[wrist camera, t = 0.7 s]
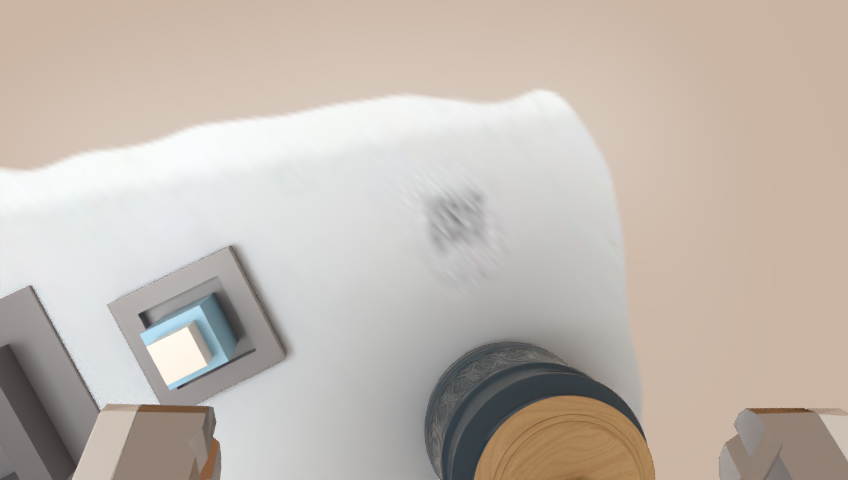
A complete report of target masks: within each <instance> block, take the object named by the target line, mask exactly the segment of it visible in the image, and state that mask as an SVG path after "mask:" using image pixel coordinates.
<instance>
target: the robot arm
mask: <svg viewBox="0 0 848 480" xmlns="http://www.w3.org/2000/svg"><path fill="white" fill-rule="evenodd" d="M215 425H216V419H215V414H214V409H213V407H210V406H179V405H146V404H142V405H134V404H107V405H106V406H105V407H104V408H103V410H102V411H101V412H100V413H99V415H98V418H97V420H96V423H95V425H94V427H93V430H92V432H91V435H90V437H89V439H88V442H87V444H86V447H85V449H84V452H83V454H82V456H81V459H80V461H79V464H78V466H77V468H76V471H75V473H74V476H73V478H72V480H220V474H221V451H220V444H219V442H218V441H217V440H216V439H215V438H214V437H213V434H214V430H215ZM734 426H735V428H736V430H737V432H738V435H736V436H735V437H733V438H732V439H730V440H729V441H727V442H726V443H725V444H724V447H723V449H722V452H721V454H720V457H719V477H720V480H848V414H847V413H846V412H845V411H843V410H841V409H805V408H751V409H750V408H746V409H745V410H743V411H742V412H741V413H739V415H738V417H737V419H736V421H735V423H734Z"/></svg>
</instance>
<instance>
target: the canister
mask: <svg viewBox="0 0 848 480" xmlns="http://www.w3.org/2000/svg"><path fill="white" fill-rule="evenodd" d="M425 443H426V448H427V452H428V456H429V459H430V461H431V464H432V466H433V468H434V470H435V472H436V474H437V476H438V478H439V479H440V480H655V470H654V465H653V461H652V457H651V454H650V451H649V448H648V446H647V442H646V438H645V435H644V432H643V430H642V428H641V425H640V423H639V421H638V420H637V418H636V416H635V415H634V413H633V411H632V410H631V409H630V408H629V406H628V405H627V404H626V403H625V402H624V401H623V399H621V398H620V397H619V396H618V395H617V394H616V393H615V392H613V391H612V390H611V389H609V388H608V387H606V386H605V385H603V384H601V383H599V382H597V381H595V380H593V379H592V378H591V377H589V376H587V375H586V374H584V373H582V372H581V371H579V370H577V369H574V368H572V367H569V366H568V365H567V364H566V363H565V362H564V361H562V360H561V359H560V358H558V357H557V356H555V355H553V354H551V353H550V352H548V351H546V350H544V349H542V348H539V347H536V346H533V345H529V344H524V343H516V342H506V343H496V344H490V345H486V346H483V347H480V348H477V349H475V350H473V351H471V352H469V353H467V354H465V355H464V356H462V357H461V358H459V359H458V360H457V361H456V362H454V363H453V364H452V365H451V366H450V367H449V368H448V369H447V370H446V371H445V373H444V374H443V375H442V376H441V378H440V379H439V381H438V382H437V384H436V386H435V388H434V390H433V392H432V394H431V397H430V400H429V403H428V407H427V412H426V418H425Z"/></svg>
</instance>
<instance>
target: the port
mask: <svg viewBox="0 0 848 480" xmlns="http://www.w3.org/2000/svg"><path fill="white" fill-rule="evenodd" d="M99 413H100V411H99V409H98V407H97V406H96V404H95V402H94V400H93V398H92V396H91V395H90V393H89V391H88V389H87V387H86V386H85V384H84V382H83V380H82V378H81V376H80V375H79V373H78V371H77V369H76V367H75V366H74V364H73V362H72V360H71V358H70V356H69V355H68V353H67V351H66V349H65V347H64V346H63V344H62V342H61V340H60V338H59V336H58V335H57V333H56V331H55V329H54V327H53V325H52V324H51V322H50V320H49V318H48V316H47V315H46V313H45V311H44V309H43V307H42V305H41V304H40V302H39V300H38V298H37V296H36V295H35V293H34V291H33V289H32V287H31V286H28V287H26V288H24V289H21V290H19V291H17V292H15V293H13V294H11V295H9V296H6V297H4V298H2V299H0V480H72V478H73V476H74V473H75V471H76V468H77V466H78V464H79V461H80V459H81V456H82V454H83V452H84V449H85V447H86V444H87V442H88V439H89V437H90V435H91V432H92V430H93V427H94V425H95V423H96V420H97V418H98V415H99Z"/></svg>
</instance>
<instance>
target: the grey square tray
mask: <svg viewBox="0 0 848 480" xmlns="http://www.w3.org/2000/svg"><path fill="white" fill-rule="evenodd" d="M213 292H214V293H215V295H216V297H217V299H218V301H219V303H220V305H221V307H222V309H223V311H224V313H225V315H226V317H227V318H228V320H229V322H230V324H231V326H232V328H233V330H234V332H235V334H236V336H237V338H238V340H239V342H238V344H237V346H236V348H235V350H234V352H233V353H232V355H231V357H230V359H229V361H228V362H226V363H224V364H222V365H220V366H218V367H216V368H214V369H212V370H210V371H208V372H206V373H204V374H202V375H200V376H198V377H196V378H194V379H192V380H190V381H188V382H186V383H184V384H182V385H180V386H178V387H176V388H174V389H172V390H169V388H168V386H167V385H166V383H165V381H164V379H163V378H162V376H161V374H160V372H159V370H158V368H157V366H156V365H155V363H154V361H153V359H152V357H151V355H150V353H149V351H148V350H147V348H146V345H145V343H144V342H143V340H142V338H141V336H140V334H141V333H142V332H143V331H144V330H146V329H147V328H148V327H150V326H151V325H152V324H154V323H155V322H156V321H158V320H159V319H160V318H162V317H163V316H166V315H168V314H170V313H172V312H174V311H176V310H178V309H180V308H182V307H184V306H186V305H188V304H190V303H192V302H194V301H196V300H198V299H201V298H203V297H205V296H207V295H209V294H211V293H213ZM107 306H108V308H109V310H110V311H111V313H112V315H113V317H114V319H115V321H116V323H117V324H118V326H119V328H120V330H121V332H122V334H123V336H124V337H125V339H126V341H127V343H128V345H129V347H130V349H131V350H132V352H133V354H134V356H135V358H136V360H137V362H138V363H139V365H140V367H141V369H142V371H143V373H144V375H145V376H146V378H147V380H148V382H149V384H150V386H151V388H152V390H153V391H154V393H155V395H156V397H157V399H158V401H159V403H160V404H161V405H179V406H194V405H196V404H198V403H200V402H202V401H204V400H206V399H208V398H210V397H212V396H213V395H215V394H217V393H219V392H221V391H223V390H225V389H227V388H229V387H231V386H233V385H235V384H237V383H239V382H241V381H243V380H245V379H247V378H249V377H251V376H253V375H255V374H257V373H259V372H261V371H263V370H265V369H267V368H269V367H271V366H273V365H275V364H277V363H279V362H281V361H283V360H285V357H286V353H285V351H284V349H283V347H282V345H281V343H280V341H279V339H278V337H277V335H276V333H275V331H274V329H273V327H272V325H271V324H270V322H269V320H268V318H267V316H266V314H265V312H264V310H263V308H262V306H261V304H260V302H259V300H258V298H257V296H256V294H255V292H254V290H253V288H252V286H251V284H250V282H249V281H248V279H247V277H246V275H245V273H244V271H243V269H242V267H241V265H240V263H239V261H238V259H237V257H236V255H235V253H234V251H233V249H232V247H231V246H228V247H226V248H224V249H222V250H220V251H218V252H216V253H214V254H212V255H210V256H208V257H205V258H203V259H201V260H199V261H197V262H195V263H193V264H191V265H189V266H187V267H185V268H182V269H180V270H178V271H176V272H174V273H172V274H170V275H168V276H166V277H164V278H162V279H159V280H157V281H155V282H153V283H151V284H149V285H147V286H145V287H143V288H141V289H139V290H136V291H134V292H132V293H130V294H128V295H126V296H124V297H122V298H120V299H118V300H116V301H114V302H111V303H109V304H107Z"/></svg>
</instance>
